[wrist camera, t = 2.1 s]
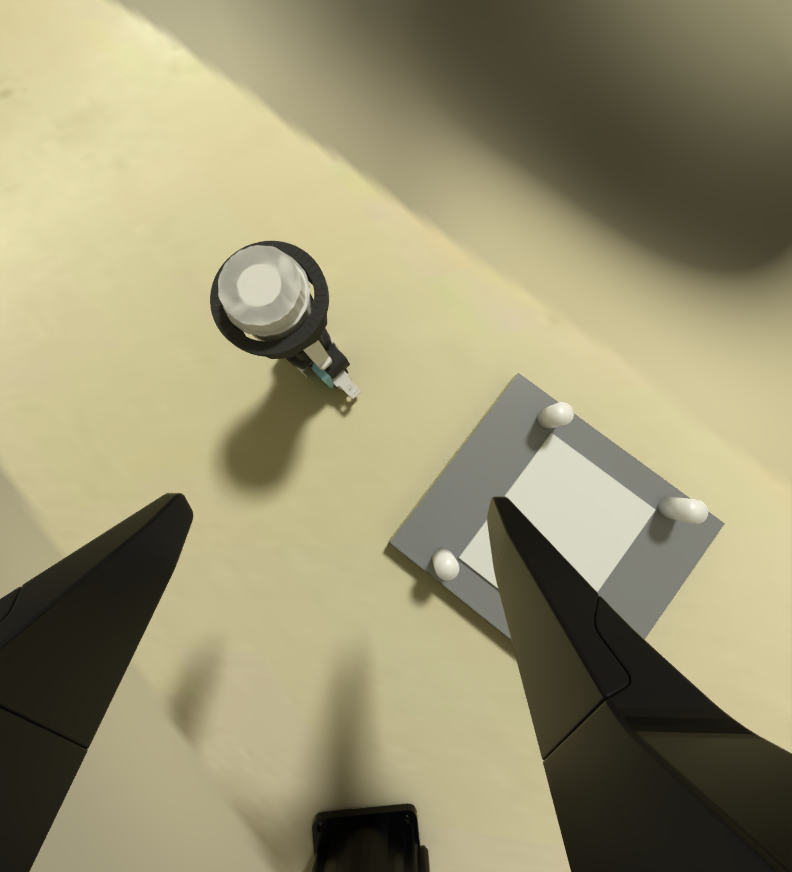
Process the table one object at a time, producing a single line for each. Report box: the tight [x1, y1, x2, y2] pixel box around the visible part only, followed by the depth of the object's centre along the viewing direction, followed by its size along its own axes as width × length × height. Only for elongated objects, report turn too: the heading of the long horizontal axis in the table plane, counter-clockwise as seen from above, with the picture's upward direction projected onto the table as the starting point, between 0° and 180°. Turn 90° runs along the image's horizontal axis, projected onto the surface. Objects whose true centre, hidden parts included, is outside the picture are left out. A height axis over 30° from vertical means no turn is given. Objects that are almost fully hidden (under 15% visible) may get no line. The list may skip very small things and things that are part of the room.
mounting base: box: [390, 373, 725, 639], centre depth 21 cm, size 14×16×3 cm
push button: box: [210, 241, 360, 399], centre depth 19 cm, size 7×5×10 cm
